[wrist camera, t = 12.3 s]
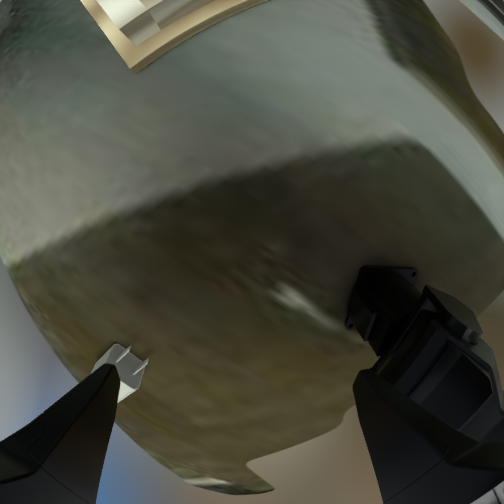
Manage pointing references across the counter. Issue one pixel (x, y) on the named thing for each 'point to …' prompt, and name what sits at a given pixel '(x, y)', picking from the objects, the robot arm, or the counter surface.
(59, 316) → the counter surface
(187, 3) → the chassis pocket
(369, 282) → the robot arm
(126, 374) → the usb wall charger
